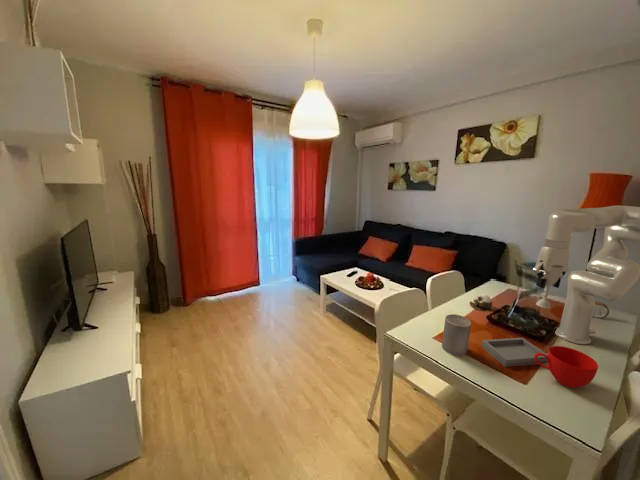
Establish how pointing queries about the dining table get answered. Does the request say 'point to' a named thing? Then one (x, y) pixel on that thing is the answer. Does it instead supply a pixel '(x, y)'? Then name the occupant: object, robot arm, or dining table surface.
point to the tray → (513, 351)
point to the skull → (482, 303)
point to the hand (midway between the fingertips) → (547, 286)
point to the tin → (600, 310)
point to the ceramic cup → (569, 366)
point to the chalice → (549, 285)
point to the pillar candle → (456, 334)
